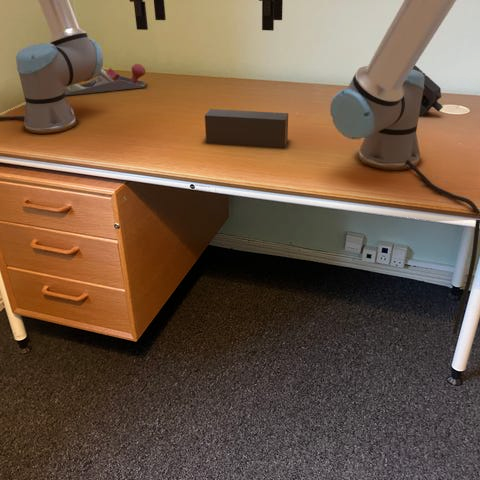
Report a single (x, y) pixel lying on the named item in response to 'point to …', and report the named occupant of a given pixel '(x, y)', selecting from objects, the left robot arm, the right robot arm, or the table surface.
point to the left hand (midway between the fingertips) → (151, 24)
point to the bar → (246, 128)
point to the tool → (429, 94)
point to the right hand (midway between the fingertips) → (272, 25)
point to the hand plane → (109, 82)
